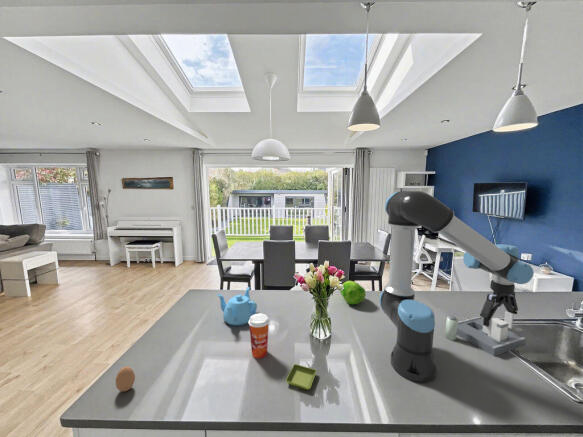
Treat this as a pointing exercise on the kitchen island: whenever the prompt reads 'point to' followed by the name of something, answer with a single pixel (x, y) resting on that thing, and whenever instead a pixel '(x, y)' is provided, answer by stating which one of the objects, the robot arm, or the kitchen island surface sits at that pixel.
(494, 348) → the grey socket board
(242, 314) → the teapot
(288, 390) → the kitchen island surface
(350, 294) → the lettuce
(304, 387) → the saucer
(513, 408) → the kitchen island surface
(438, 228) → the robot arm
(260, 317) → the coffee cup
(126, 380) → the egg
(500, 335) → the block
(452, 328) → the peg
